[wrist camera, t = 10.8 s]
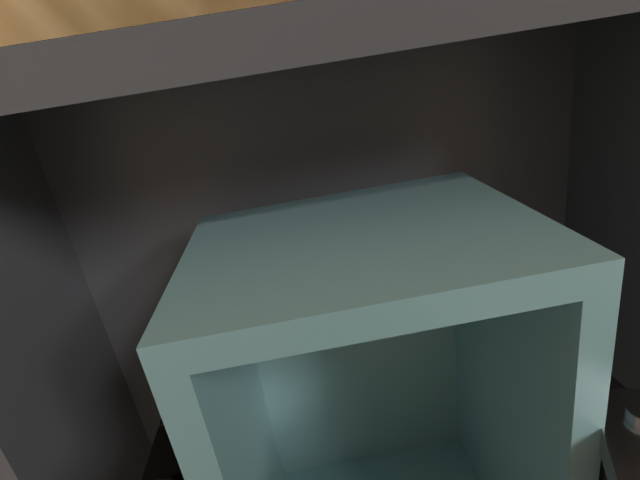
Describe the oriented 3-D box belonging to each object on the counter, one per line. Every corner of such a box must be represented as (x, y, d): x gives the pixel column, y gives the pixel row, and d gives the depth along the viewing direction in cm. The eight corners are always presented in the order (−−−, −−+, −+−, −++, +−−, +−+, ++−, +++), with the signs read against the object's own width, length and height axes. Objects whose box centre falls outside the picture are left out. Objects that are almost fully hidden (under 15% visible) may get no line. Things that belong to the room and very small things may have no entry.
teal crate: (200, 217, 10) (135, 349, 5) (461, 171, 10) (626, 257, 5) (269, 474, 13) (268, 705, 8) (469, 434, 13) (579, 637, 8)
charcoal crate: (-9, 81, 10) (-277, 90, 5) (589, -14, 11) (860, -88, 6) (166, 510, 16) (116, 715, 11) (558, 431, 17) (685, 590, 12)
